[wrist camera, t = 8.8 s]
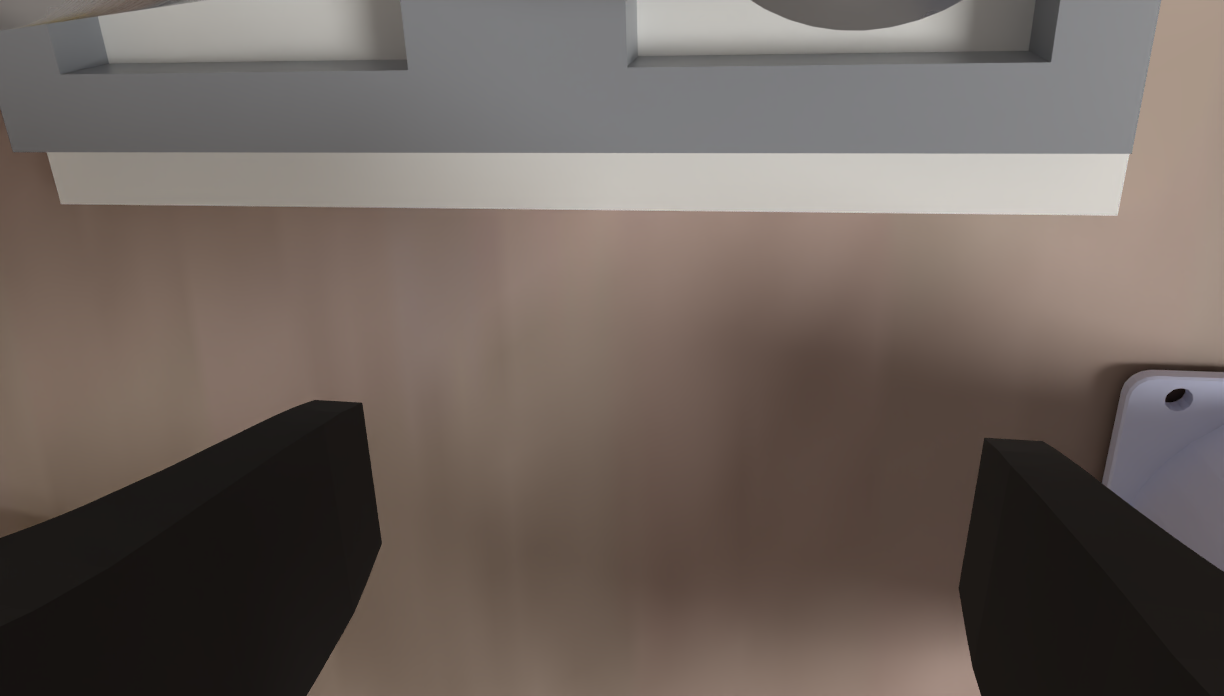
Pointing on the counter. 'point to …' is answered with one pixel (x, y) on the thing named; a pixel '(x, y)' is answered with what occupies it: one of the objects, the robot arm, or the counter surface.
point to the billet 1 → (69, 10)
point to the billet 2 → (855, 12)
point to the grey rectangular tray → (584, 106)
